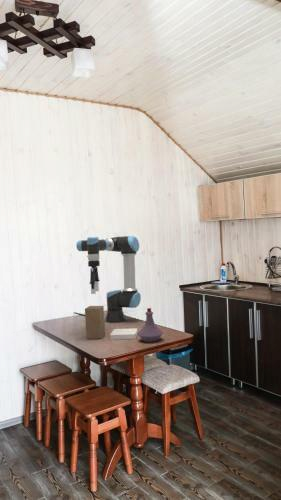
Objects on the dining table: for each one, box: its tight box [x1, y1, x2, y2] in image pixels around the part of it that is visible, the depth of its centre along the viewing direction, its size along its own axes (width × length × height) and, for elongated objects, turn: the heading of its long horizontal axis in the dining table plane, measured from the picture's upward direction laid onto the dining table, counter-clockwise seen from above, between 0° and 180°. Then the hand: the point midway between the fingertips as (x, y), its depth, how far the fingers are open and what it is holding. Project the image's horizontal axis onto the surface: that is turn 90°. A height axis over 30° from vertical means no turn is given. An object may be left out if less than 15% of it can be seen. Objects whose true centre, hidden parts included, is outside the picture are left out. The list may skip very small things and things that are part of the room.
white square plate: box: [109, 327, 139, 341], centre depth 286 cm, size 16×16×3 cm
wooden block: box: [84, 305, 106, 340], centre depth 287 cm, size 10×10×20 cm
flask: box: [137, 307, 164, 343], centre depth 272 cm, size 16×16×20 cm
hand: (95, 292), depth 287 cm, fingers open, 13 cm apart
